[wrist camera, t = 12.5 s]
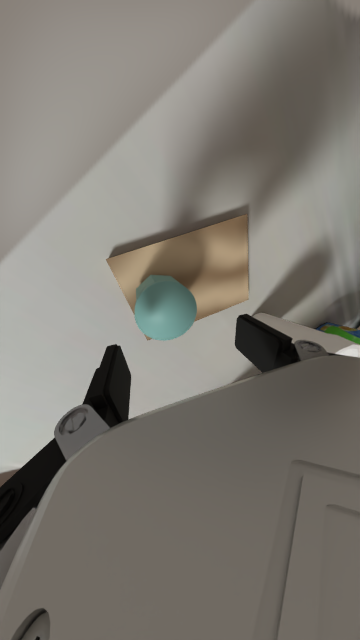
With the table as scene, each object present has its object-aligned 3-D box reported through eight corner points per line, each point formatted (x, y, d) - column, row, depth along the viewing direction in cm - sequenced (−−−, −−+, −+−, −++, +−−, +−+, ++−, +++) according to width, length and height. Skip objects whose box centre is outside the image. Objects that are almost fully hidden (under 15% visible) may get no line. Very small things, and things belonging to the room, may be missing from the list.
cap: (133, 271, 16) (132, 280, 11) (185, 274, 17) (201, 283, 13) (135, 320, 18) (136, 342, 14) (180, 319, 20) (192, 337, 16)
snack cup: (295, 334, 34) (349, 363, 26) (330, 302, 33) (400, 322, 24) (309, 358, 42) (354, 386, 33) (338, 333, 41) (394, 356, 32)
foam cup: (257, 297, 26) (350, 334, 15) (282, 314, 30) (370, 354, 19) (228, 338, 28) (288, 396, 17) (255, 349, 32) (317, 401, 21)
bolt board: (242, 297, 25) (267, 308, 20) (146, 335, 23) (149, 357, 18) (239, 216, 19) (275, 205, 14) (108, 258, 16) (97, 262, 12)
